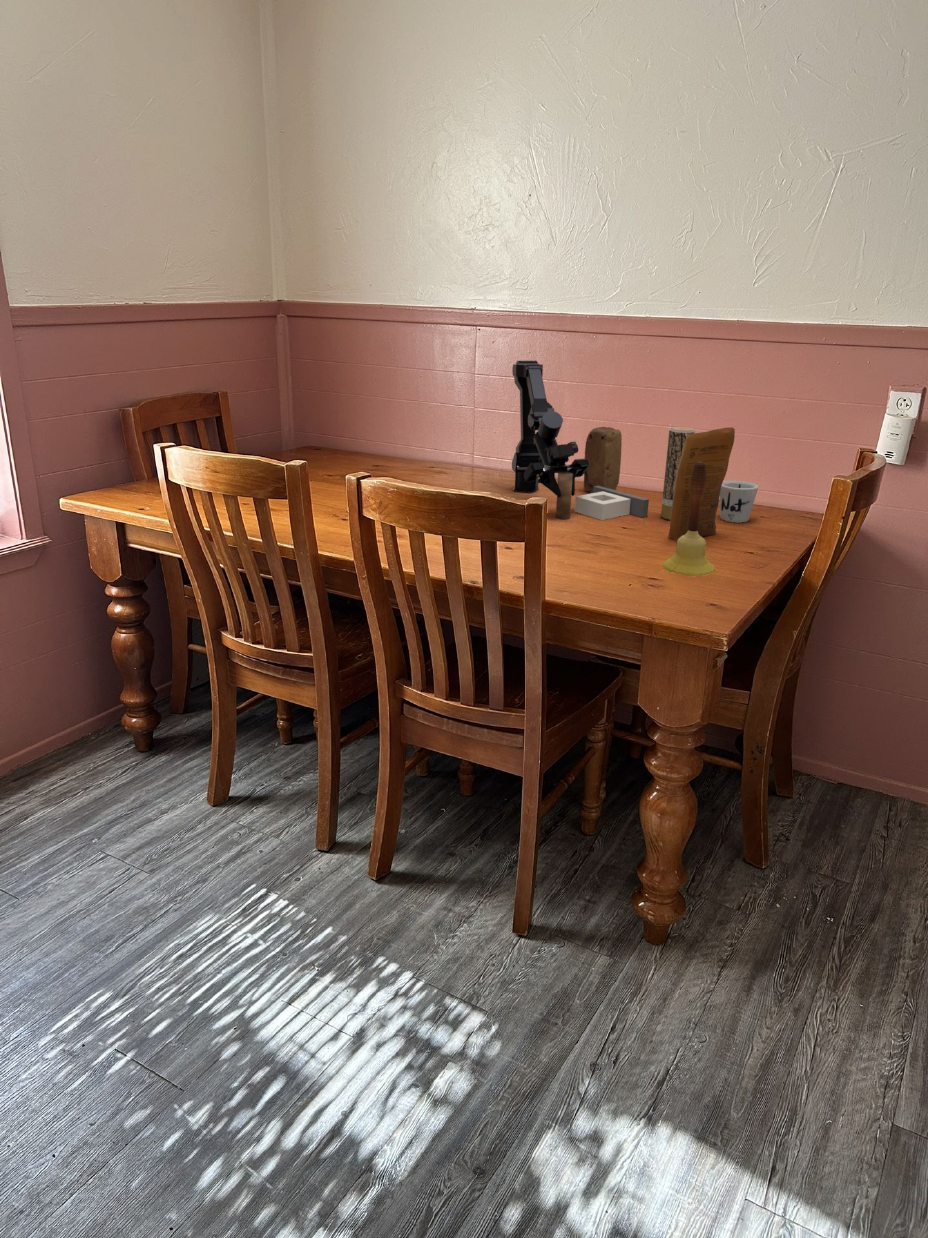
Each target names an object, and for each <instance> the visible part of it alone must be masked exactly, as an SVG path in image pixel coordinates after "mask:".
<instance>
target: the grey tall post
mask: <svg viewBox="0 0 928 1238" xmlns="http://www.w3.org/2000/svg"><path fill="white" fill-rule="evenodd" d="M693 433H696V428H694V427H688V426H671V427H669V431H668V439H667V449H666V459H665V460H666V462H665V470H664V480H663V489H662V490H663V491H662V500H661V511H660V516H661V518H662V519H664V520H667V521H670V519H671V510H672V502H673V492H674V484H675V478H676V472H677V468H678V464H679V460H680V457H681V453H682V449H683V446H684V442H685V439H689V434H693Z"/></svg>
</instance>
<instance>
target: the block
mask: <svg viewBox="0 0 928 1238" xmlns="http://www.w3.org/2000/svg"><path fill="white" fill-rule="evenodd" d="M622 437H623V435H622V432H621V430H620V429H616V428H614V427H607V426H599V427H595V428H592V429H591V430H590V431H589V433H588V435H587V437H586V441H585V448H584V458H585V459H587V460H588V461H589V464H590V467H589V468H588V469H587V471H586V472H585V473H584V474H583V489H584V490H586V491H587V492H589V493H590V494H591V493H593V486H602V487H605V488H609V489H613V490H616V489H617V487H618V485H619V482H620V474H621V461H622V440H623V439H622ZM616 491H617V490H616Z"/></svg>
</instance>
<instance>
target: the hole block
mask: <svg viewBox="0 0 928 1238" xmlns="http://www.w3.org/2000/svg"><path fill="white" fill-rule="evenodd" d="M574 501H575V502H574V512H575V513H577V512H578V514H580V513H581V515H584V516H588V517H590V518H593V519H596V520H599V521H605V520H609V519H613V518H619V516H620V517H622V516H623V517H624V516H628V515H631V514H630V502H631V499H629V498H625V497H622V496H618V495H614V494H611V493H607V492H603V491H602V492H597V493H591V492H590V493H587V494H582V495H576V496H575V500H574Z"/></svg>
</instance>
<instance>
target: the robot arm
mask: <svg viewBox="0 0 928 1238" xmlns="http://www.w3.org/2000/svg"><path fill="white" fill-rule="evenodd" d="M543 368H544V364H542V363H541V364H540V363H539V362H538V361H537V360H516V362H515V364H512V369H511V370H512V371H511V373H512V374H511V375H512V377H513V379H514V384H515V386H516V387H517V389H518V391H519V405H520V406H519V407H520V408H519V412H520V421H519V422H520V440H519V441H518V443H517V445H516V447H515V452H514V455H513V458H512V461H511V470H512V471H513V472H514V473H515V475H514V477H515V478H514V488H513V489H514V490H517V491H516V492H521V491H526V492H525V493H529V492H532V493H534V492H536V491H537V490H539V484H541V485H542V486H544V487H545V488H547V489H548V490H550V491H551V492H552V493H553V494H554V495H555V496H556V497H557V496H558V497H561V492H560V489H559V487H558V480H557V479H556V476H555V475H556V474H558V473H560V472H569V473H572V474H573V478H572V494H571V497H574V496H575V494H576V482H575V481H576V478H581V477H584V473H585V472H586V471H587V469H588V468H589V467H590V464H589V461H588V460H587V459H585V457H584V458H575V459H574V460H573V461H572V462H571V464H567V463H568V462H569V461H570V459H569V458H570V457H574V456H575V454H577V453H579V446H578V444H577V442H576V441H569V442H568V443H566V444H565V443H564V444H558V442H557V439H556V438H558V436H559V434H560V431H561V428H562V425H563V422H564V418H563V416H562V415H561V414H560V413H559V412H557V411H555V408H554V407H553V405H552V404H551V403H550V402H549V401H548V400H547V395H546V390H545V384H544V379H543V376H544V375H543V374H544V372H543V371H544V369H543ZM536 431H537V432H536Z"/></svg>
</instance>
